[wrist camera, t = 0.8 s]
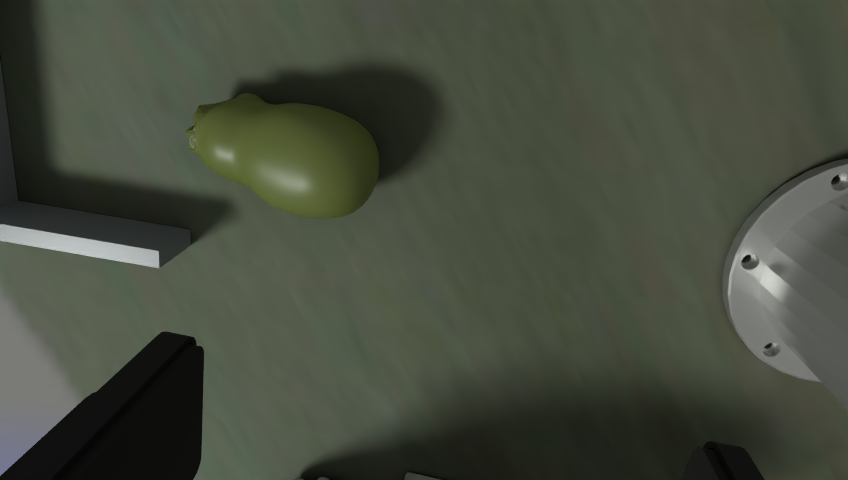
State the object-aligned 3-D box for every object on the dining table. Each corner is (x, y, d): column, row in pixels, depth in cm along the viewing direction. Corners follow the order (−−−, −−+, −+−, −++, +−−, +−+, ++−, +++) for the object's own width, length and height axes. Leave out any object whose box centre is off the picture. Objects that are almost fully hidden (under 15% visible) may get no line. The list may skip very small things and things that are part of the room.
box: (187, -52, 28) (147, -62, 25) (190, 245, 34) (159, 267, 31) (-36, -84, 29) (-103, -98, 26) (4, 213, 35) (-47, 232, 31)
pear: (344, 247, 27) (162, 188, 29) (381, 216, 32) (224, 168, 34) (365, 132, 25) (168, 76, 27) (401, 118, 30) (233, 72, 31)
